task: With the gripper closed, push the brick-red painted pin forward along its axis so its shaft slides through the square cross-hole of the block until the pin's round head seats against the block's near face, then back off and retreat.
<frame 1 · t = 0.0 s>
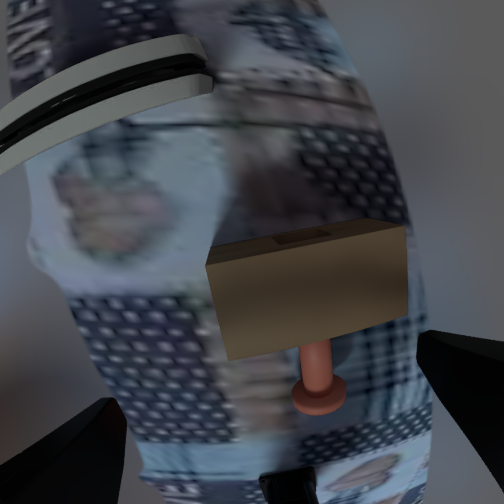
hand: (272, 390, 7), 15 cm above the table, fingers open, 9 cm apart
white curved piece: (108, 111, 19), on the table
pin: (315, 351, 21), point 2 cm above the table, slide at 0.0 cm
block: (298, 270, 22), on the table
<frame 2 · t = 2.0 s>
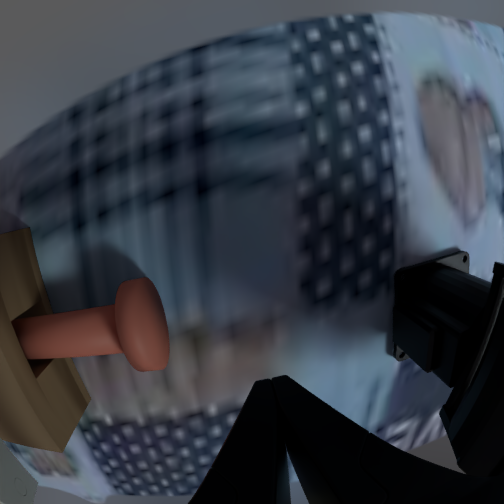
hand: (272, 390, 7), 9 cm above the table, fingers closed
pin: (73, 334, 13), point 2 cm above the table, slide at 0.0 cm
block: (25, 325, 15), on the table
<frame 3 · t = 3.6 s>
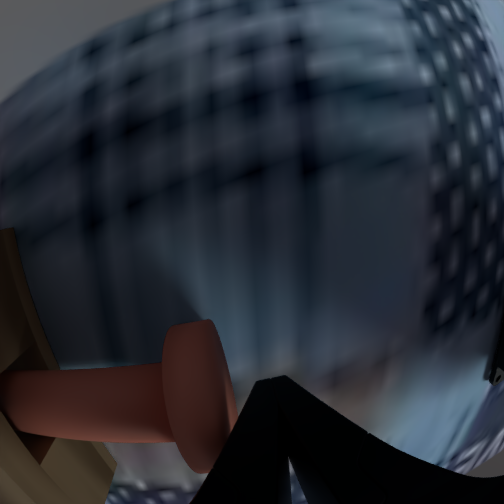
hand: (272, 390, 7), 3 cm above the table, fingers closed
pin: (81, 405, 7), point 2 cm above the table, slide at 0.5 cm, touching gripper
block: (16, 370, 9), on the table
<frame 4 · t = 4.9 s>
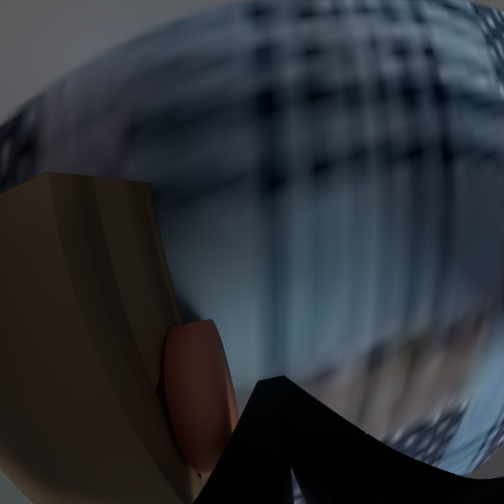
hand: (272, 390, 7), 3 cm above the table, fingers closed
white curved piece: (30, 488, 12), on the table
pin: (82, 405, 7), point 2 cm above the table, slide at 6.3 cm, touching gripper
block: (117, 367, 10), on the table
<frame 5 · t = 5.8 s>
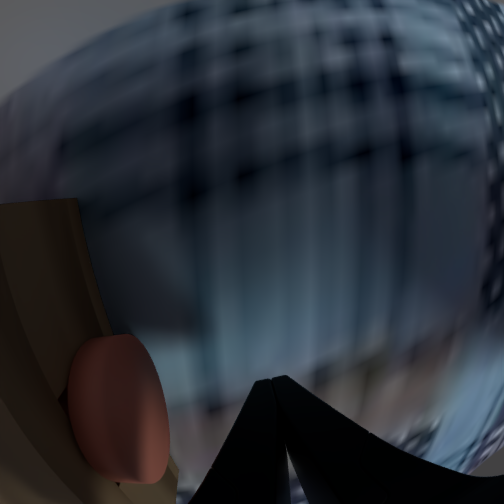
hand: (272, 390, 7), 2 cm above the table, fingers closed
pin: (25, 407, 7), point 2 cm above the table, slide at 6.3 cm
block: (62, 372, 9), on the table
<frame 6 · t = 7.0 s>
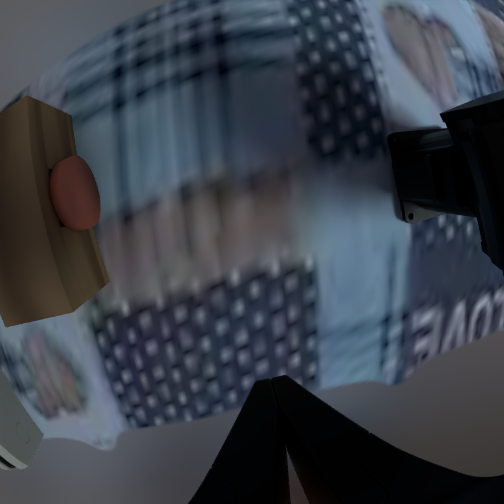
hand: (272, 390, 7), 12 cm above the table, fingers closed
pin: (27, 215, 15), point 2 cm above the table, slide at 6.3 cm
block: (52, 209, 17), on the table
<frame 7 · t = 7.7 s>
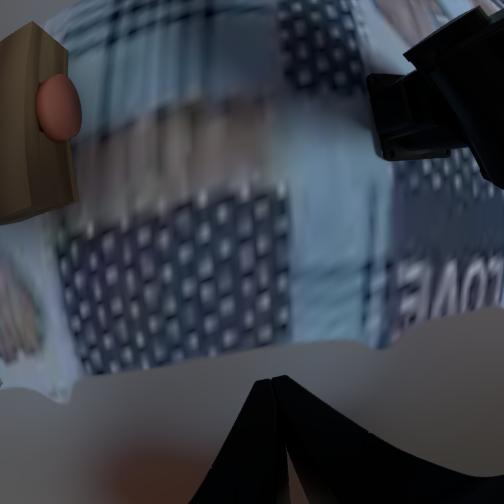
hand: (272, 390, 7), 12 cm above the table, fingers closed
pin: (13, 131, 13), point 2 cm above the table, slide at 6.3 cm
block: (37, 133, 16), on the table
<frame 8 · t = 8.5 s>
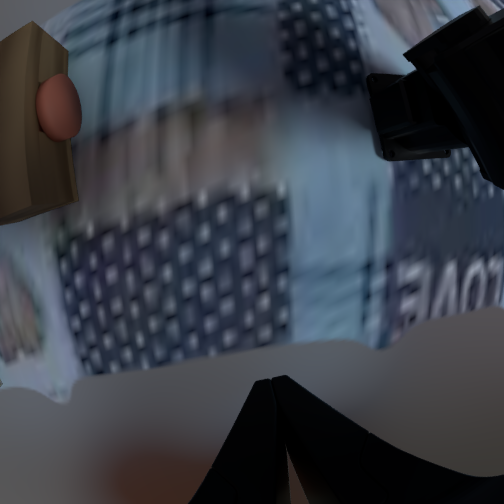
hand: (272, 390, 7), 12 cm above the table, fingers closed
pin: (13, 131, 13), point 2 cm above the table, slide at 6.3 cm
block: (37, 133, 16), on the table
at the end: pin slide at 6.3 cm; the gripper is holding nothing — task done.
